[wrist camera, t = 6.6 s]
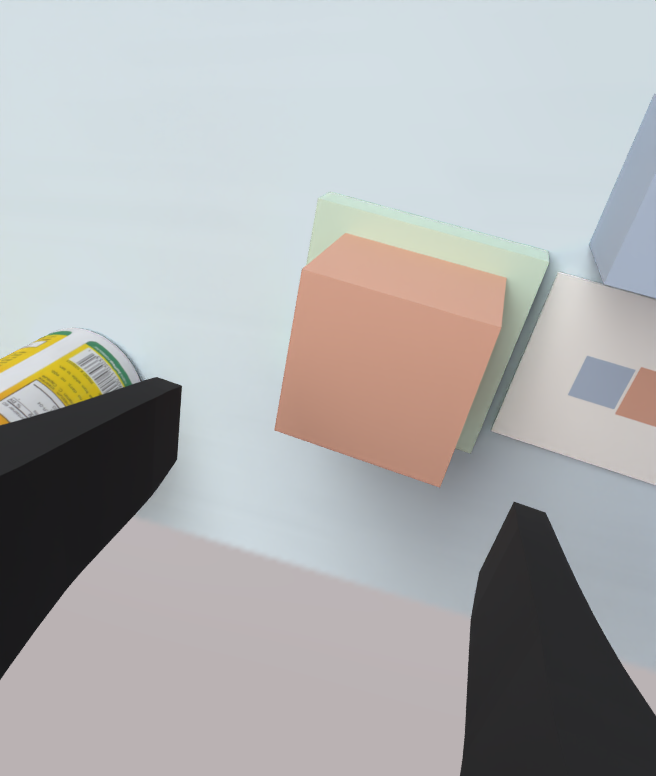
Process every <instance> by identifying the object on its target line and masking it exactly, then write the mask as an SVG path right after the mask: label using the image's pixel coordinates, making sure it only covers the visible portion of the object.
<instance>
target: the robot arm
mask: <svg viewBox="0 0 656 776" xmlns="http://www.w3.org/2000/svg"><path fill="white" fill-rule="evenodd" d="M181 391H182V386H181V385H178V384H175V383H172V382H169V381H166V380H164V379H161V378H158V377H155V378H152V379H148V380H144V381H141V382H138V383H135V384H132V385H129V386H126V387H123V388H120V389H117V390H114V391H111V392H108V393H105V394H102V395H99V396H96V397H93V398H90V399H87V400H84V401H81V402H78V403H75V404H72V405H69V406H66V407H63V408H59V409H56V410H52V411H49V412H46V413H42V414H39V415H35V416H32V417H28V418H25V419H21V420H18V421H15V422H11V423H7V424H3V425H0V679H1V678H2V676H3V675H4V673H5V672H6V671H7V669H8V668H9V666H10V665H11V664H12V662H13V661H14V659H15V658H16V656H17V655H18V654H19V653H20V651H21V650H22V648H23V647H24V646H25V644H26V643H27V641H28V640H29V639H30V637H31V636H32V635H33V633H34V632H35V630H36V629H37V628H38V626H39V625H40V624H41V622H42V621H43V620H44V618H45V617H46V616H47V614H48V613H49V612H50V610H51V609H52V608H53V607H54V605H55V604H56V602H57V601H58V600H59V599H60V597H61V596H62V595H63V593H64V592H65V591H66V589H67V588H68V587H69V586H70V585H71V583H72V582H73V581H74V580H75V579H76V578H77V576H78V575H79V574H80V573H81V572H82V571H83V570H84V568H85V567H86V566H87V565H88V564H89V563H90V562H91V561H92V560H93V559H94V558H95V557H96V556H97V555H98V553H99V552H100V551H101V550H102V549H103V548H104V547H105V546H106V545H107V544H108V543H109V542H110V541H111V539H112V538H113V537H114V536H115V535H116V534H117V533H118V532H119V531H120V530H121V529H122V528H123V527H124V525H126V523H127V522H128V521H129V520H130V519H131V518H132V517H133V516H134V515H135V514H136V513H137V512H138V510H139V509H140V508H141V507H142V506H143V505H144V504H145V503H146V502H147V500H148V499H149V498H150V497H151V496H152V495H153V493H154V492H155V491H156V489H157V488H158V486H159V485H160V484H161V482H162V481H163V480H164V478H165V477H166V475H167V474H168V472H169V471H170V469H171V468H172V466H173V465H174V463H175V462H176V460H177V451H178V436H179V421H180V406H181ZM469 644H470V645H469V662H468V682H467V703H466V724H465V739H464V749H463V759H462V767H461V773H460V776H656V716H655V714H654V713H653V711H652V710H651V708H650V707H649V705H648V704H647V702H646V701H645V699H644V698H643V696H642V695H641V693H640V692H639V690H638V689H637V687H636V686H635V684H634V683H633V681H632V680H631V678H630V677H629V675H628V673H627V672H626V670H625V669H624V667H623V665H622V664H621V662H620V660H619V659H618V657H617V655H616V654H615V652H614V650H613V649H612V647H611V645H610V643H609V642H608V640H607V638H606V636H605V635H604V633H603V631H602V629H601V628H600V626H599V624H598V622H597V620H596V618H595V616H594V615H593V613H592V611H591V609H590V607H589V605H588V603H587V601H586V599H585V597H584V595H583V593H582V591H581V589H580V587H579V585H578V583H577V581H576V579H575V576H574V574H573V572H572V570H571V568H570V566H569V564H568V561H567V559H566V557H565V555H564V553H563V550H562V548H561V546H560V544H559V541H558V539H557V537H556V535H555V532H554V530H553V528H552V526H551V523H550V521H549V519H548V517H547V515H546V513H545V512H542V511H539V510H536V509H533V508H530V507H528V506H525V505H522V504H519V503H516V502H514V503H513V505H512V507H511V509H510V511H509V513H508V515H507V517H506V519H505V521H504V523H503V525H502V527H501V529H500V531H499V533H498V535H497V537H496V539H495V541H494V543H493V546H492V548H491V550H490V552H489V554H488V556H487V558H486V560H485V562H484V564H483V566H482V568H481V570H480V572H479V577H478V582H477V587H476V593H475V598H474V604H473V610H472V616H471V626H470V643H469Z"/></svg>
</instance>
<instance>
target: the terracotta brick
mask: <svg viewBox="0 0 656 776" xmlns="http://www.w3.org/2000/svg"><path fill="white" fill-rule="evenodd" d="M506 279H507V278H506V277H502V276H498V275H495V274H491V273H488V272H484V271H481V270H477V269H473V268H470V267H466V266H463V265H459V264H455V263H452V262H448V261H445V260H441V259H438V258H434V257H430V256H427V255H423V254H420V253H416V252H412V251H409V250H405V249H402V248H398V247H395V246H391V245H387V244H384V243H380V242H377V241H373V240H370V239H366V238H362V237H359V236H355V235H352V234H348V233H345V234H343V235H342V236H341V237H340V238H339V239H337V240H336V241H335V242H334V243H333V244H331V245H330V246H329V247H328V248H327V249H325V250H324V251H323V252H322V253H321V254H319V255H318V256H317V257H316V258H315V259H313V260H312V261H311V262H310V263H309V264H307V265H306V266H305V267H304V268H303V269H302V272H301V278H300V284H299V290H298V295H297V301H296V307H295V313H294V319H293V325H292V331H291V336H290V342H289V348H288V354H287V360H286V366H285V372H284V377H283V383H282V389H281V395H280V401H279V407H278V413H277V418H276V424H275V431H278V432H281V433H284V434H287V435H290V436H293V437H296V438H298V439H301V440H304V441H307V442H310V443H313V444H316V445H319V446H321V447H324V448H327V449H330V450H333V451H336V452H339V453H342V454H345V455H347V456H350V457H353V458H356V459H359V460H362V461H365V462H368V463H371V464H373V465H376V466H379V467H382V468H385V469H388V470H391V471H394V472H396V473H399V474H402V475H405V476H408V477H411V478H414V479H417V480H420V481H422V482H425V483H428V484H431V485H434V486H437V487H440V486H441V483H442V481H443V478H444V476H445V473H446V471H447V468H448V465H449V463H450V460H451V458H452V455H453V452H454V450H455V447H456V445H457V442H458V439H459V437H460V434H461V432H462V429H463V426H464V424H465V421H466V419H467V416H468V413H469V411H470V408H471V406H472V403H473V400H474V398H475V395H476V393H477V390H478V387H479V385H480V382H481V380H482V377H483V374H484V372H485V369H486V367H487V364H488V361H489V359H490V356H491V354H492V351H493V348H494V346H495V343H496V341H497V338H498V335H499V333H500V330H501V327H502V318H503V308H504V298H505V288H506Z"/></svg>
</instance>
